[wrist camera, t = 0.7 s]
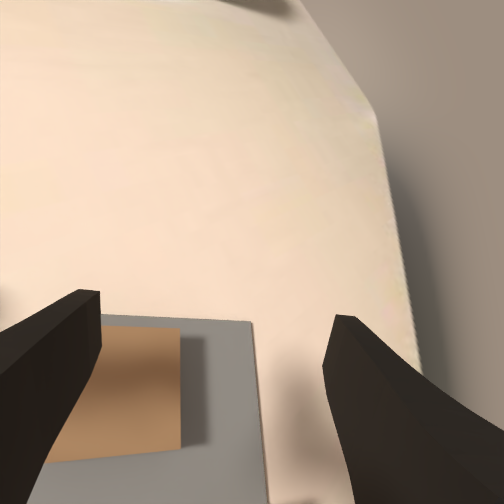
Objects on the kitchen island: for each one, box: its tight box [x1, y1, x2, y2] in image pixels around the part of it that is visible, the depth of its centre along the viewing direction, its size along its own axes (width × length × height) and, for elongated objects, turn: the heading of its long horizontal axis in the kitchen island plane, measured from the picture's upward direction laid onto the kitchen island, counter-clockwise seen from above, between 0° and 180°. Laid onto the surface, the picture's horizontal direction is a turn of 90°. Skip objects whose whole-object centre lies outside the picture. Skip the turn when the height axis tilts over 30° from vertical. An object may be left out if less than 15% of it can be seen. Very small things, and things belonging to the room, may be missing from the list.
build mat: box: [27, 314, 267, 504], centre depth 23 cm, size 18×14×1 cm
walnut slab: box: [44, 326, 181, 463], centre depth 23 cm, size 7×7×2 cm
